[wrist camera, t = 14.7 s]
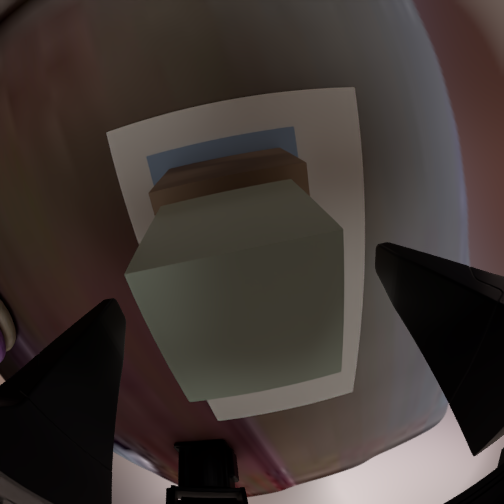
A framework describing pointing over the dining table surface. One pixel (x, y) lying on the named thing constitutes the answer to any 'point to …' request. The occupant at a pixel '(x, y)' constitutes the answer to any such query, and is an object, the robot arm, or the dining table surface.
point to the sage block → (243, 290)
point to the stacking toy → (6, 331)
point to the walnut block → (228, 175)
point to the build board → (255, 139)
